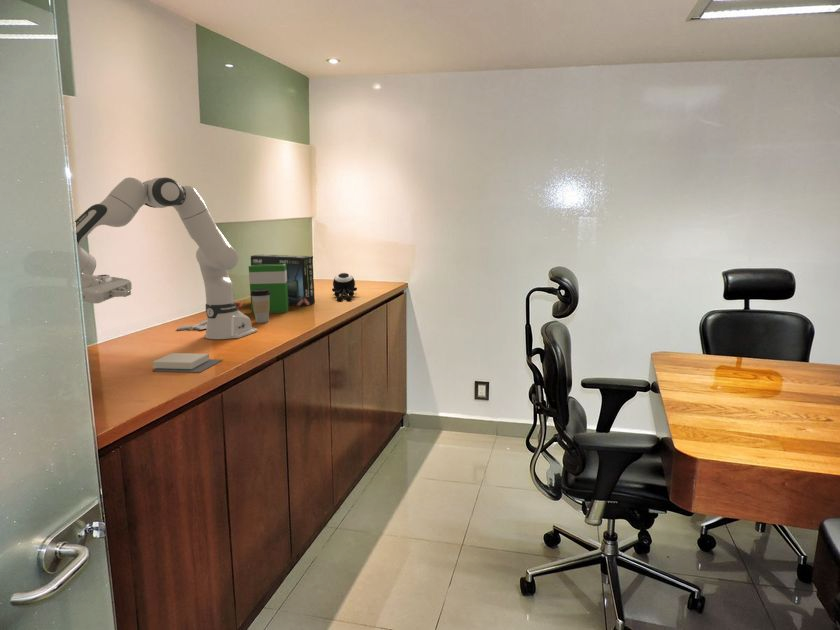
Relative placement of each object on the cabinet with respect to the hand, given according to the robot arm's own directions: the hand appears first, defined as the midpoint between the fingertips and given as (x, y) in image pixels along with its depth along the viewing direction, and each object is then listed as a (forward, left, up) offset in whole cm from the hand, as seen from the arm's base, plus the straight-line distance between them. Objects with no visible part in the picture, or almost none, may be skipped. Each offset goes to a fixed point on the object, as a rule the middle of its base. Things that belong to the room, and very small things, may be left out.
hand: (128, 293), depth 209 cm
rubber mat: (-5, +21, -25) cm, 33 cm away
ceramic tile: (-2, +12, -23) cm, 26 cm away
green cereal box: (-99, -28, -25) cm, 106 cm away
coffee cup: (-76, -12, -25) cm, 81 cm away
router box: (-122, -39, -25) cm, 131 cm away
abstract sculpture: (-154, -21, -25) cm, 157 cm away
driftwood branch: (-60, -33, -25) cm, 73 cm away
